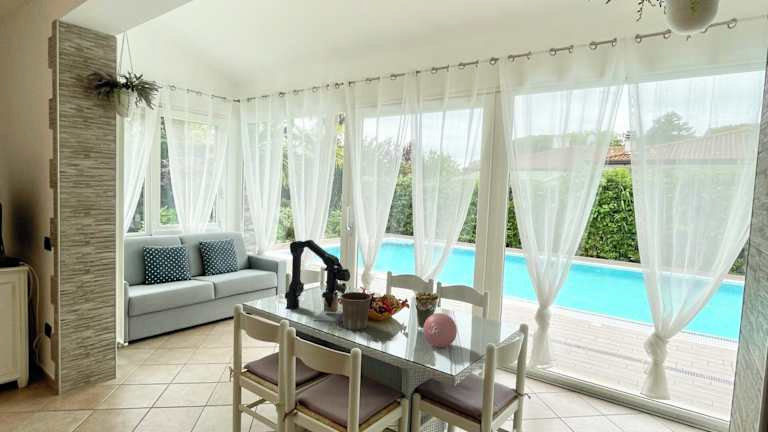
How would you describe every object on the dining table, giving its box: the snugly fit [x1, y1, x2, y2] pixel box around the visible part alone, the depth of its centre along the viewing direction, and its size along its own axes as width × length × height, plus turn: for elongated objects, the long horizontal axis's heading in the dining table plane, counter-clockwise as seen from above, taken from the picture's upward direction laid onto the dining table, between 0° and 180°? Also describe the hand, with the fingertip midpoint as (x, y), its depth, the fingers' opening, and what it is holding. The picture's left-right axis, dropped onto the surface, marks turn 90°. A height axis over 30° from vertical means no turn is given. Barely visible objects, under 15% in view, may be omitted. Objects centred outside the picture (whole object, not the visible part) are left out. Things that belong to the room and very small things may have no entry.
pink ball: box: [422, 312, 458, 349], centre depth 185 cm, size 15×20×15 cm
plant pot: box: [340, 291, 373, 331], centre depth 211 cm, size 16×16×16 cm
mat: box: [313, 309, 343, 323], centre depth 226 cm, size 12×18×1 cm, turn 174°
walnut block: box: [323, 294, 339, 312], centre depth 229 cm, size 7×4×9 cm, turn 84°
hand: (330, 306), depth 229 cm, fingers closed on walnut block, 4 cm apart
